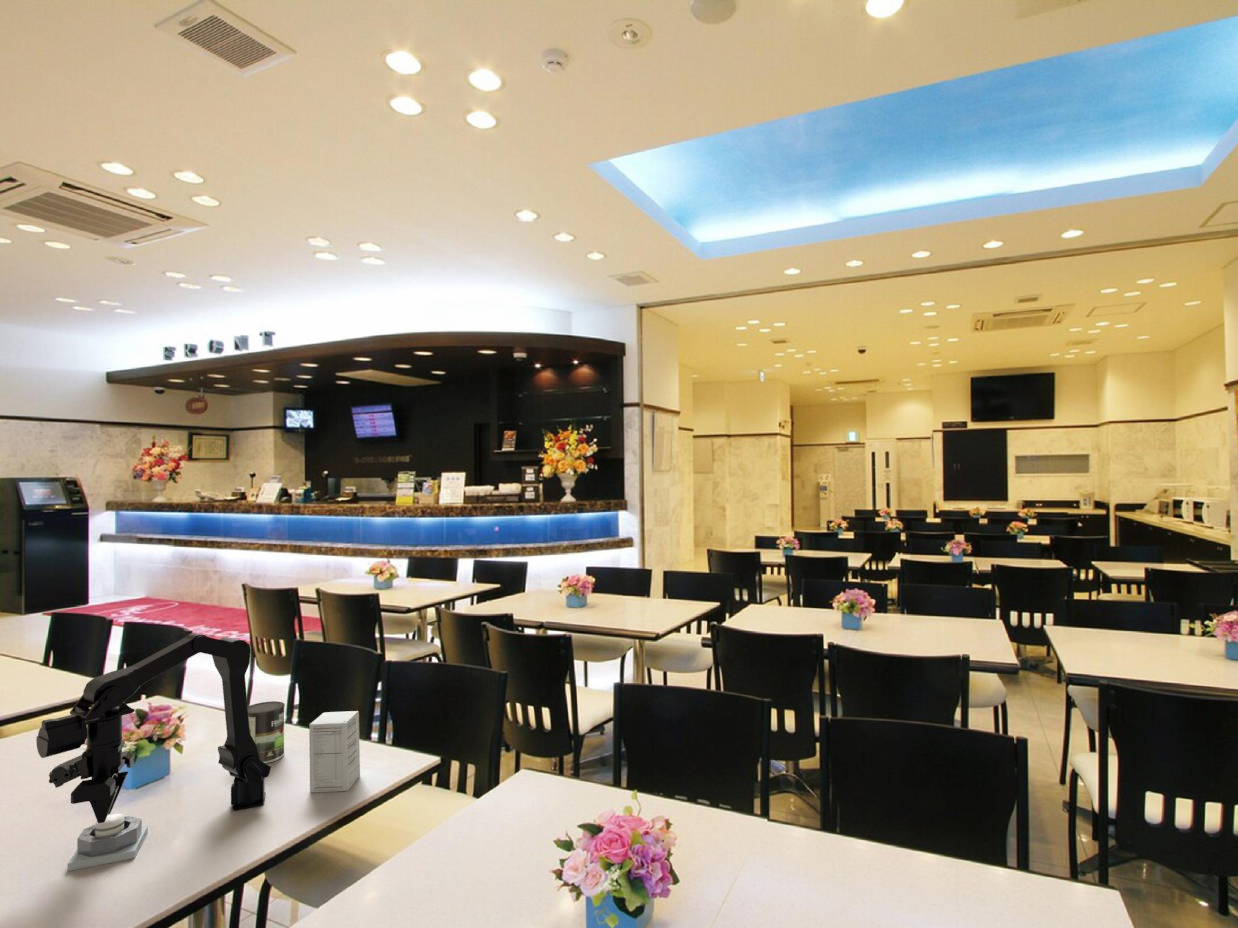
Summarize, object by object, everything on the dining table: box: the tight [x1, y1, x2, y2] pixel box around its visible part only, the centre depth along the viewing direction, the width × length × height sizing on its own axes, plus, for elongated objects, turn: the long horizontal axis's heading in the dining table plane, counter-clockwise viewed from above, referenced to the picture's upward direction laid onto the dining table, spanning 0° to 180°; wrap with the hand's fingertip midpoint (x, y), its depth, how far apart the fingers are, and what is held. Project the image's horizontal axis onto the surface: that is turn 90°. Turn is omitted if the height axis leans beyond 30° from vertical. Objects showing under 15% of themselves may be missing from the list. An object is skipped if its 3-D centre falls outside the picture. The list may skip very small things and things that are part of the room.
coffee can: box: [248, 700, 286, 765], centre depth 188 cm, size 10×10×14 cm
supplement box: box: [308, 710, 361, 793], centre depth 171 cm, size 10×9×17 cm
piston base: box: [67, 813, 149, 872], centre depth 140 cm, size 11×11×6 cm
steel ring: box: [76, 815, 143, 857], centre depth 141 cm, size 10×10×3 cm
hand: (104, 818), depth 137 cm, fingers open, 3 cm apart
